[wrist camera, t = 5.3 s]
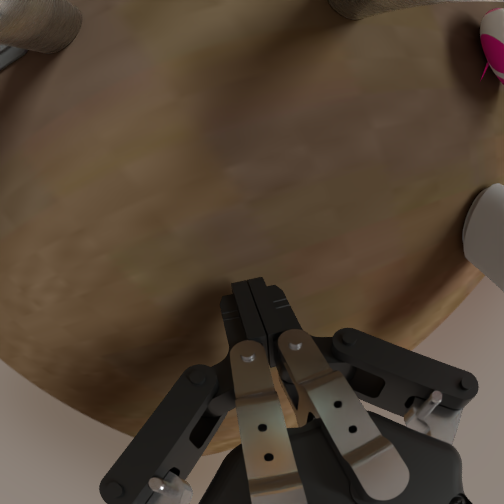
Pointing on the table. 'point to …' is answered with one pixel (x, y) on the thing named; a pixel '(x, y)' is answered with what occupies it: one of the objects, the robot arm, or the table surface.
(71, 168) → the table surface
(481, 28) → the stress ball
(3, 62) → the calculator
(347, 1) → the post
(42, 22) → the post
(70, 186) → the table surface
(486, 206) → the can
